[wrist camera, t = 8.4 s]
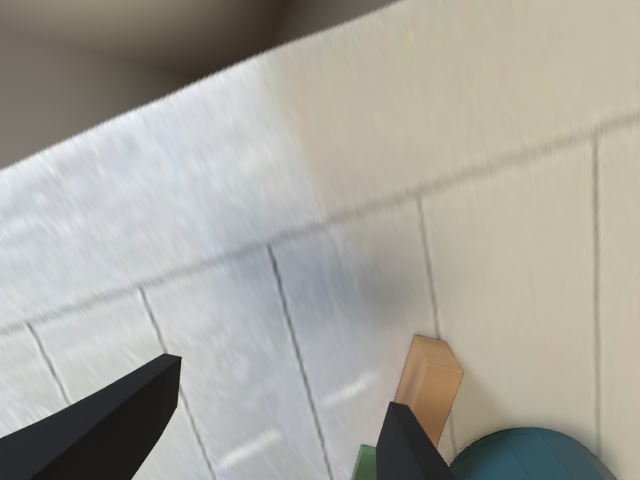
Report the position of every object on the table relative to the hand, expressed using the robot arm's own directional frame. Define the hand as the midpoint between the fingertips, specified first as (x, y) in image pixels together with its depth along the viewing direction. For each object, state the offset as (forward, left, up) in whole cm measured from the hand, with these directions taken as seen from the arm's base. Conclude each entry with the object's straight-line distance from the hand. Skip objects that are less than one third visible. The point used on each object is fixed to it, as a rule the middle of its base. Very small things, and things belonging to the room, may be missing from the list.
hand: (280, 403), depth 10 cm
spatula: (-10, -9, -10) cm, 17 cm away
